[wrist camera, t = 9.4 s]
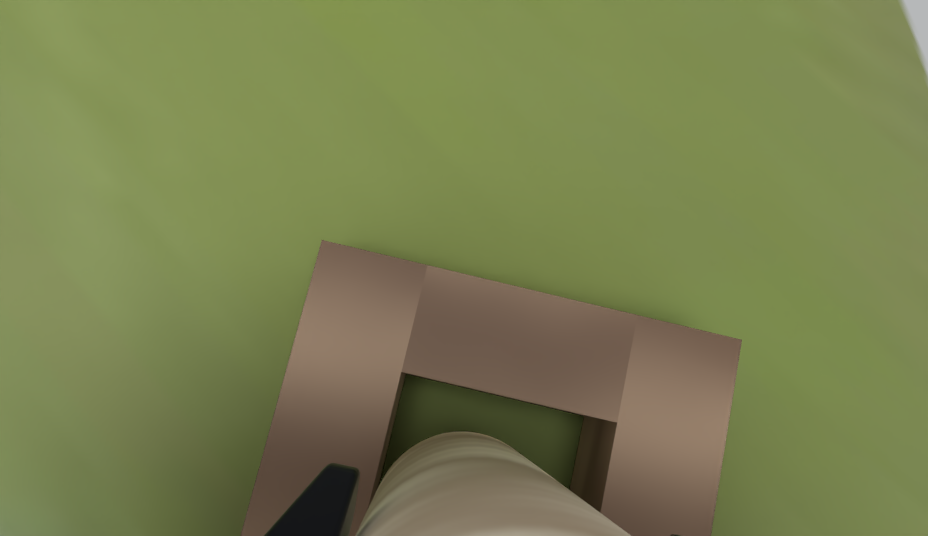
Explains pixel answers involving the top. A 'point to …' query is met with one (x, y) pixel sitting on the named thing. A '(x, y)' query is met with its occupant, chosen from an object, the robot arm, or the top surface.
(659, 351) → the brown rectangular frame
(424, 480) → the peg
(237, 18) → the top surface
